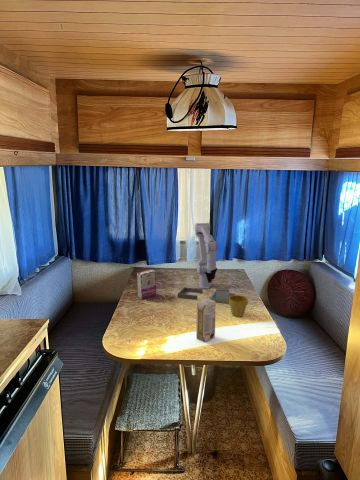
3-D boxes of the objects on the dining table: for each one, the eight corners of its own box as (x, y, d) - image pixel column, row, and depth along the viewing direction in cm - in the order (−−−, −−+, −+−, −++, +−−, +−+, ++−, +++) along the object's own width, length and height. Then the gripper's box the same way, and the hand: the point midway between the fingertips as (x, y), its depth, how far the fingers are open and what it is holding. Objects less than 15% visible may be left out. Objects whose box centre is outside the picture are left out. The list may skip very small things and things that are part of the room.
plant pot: (245, 319, 199) (246, 302, 197) (226, 317, 202) (227, 300, 200) (248, 312, 209) (249, 296, 207) (230, 310, 212) (230, 294, 210)
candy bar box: (151, 293, 239) (151, 269, 235) (156, 295, 235) (156, 270, 232) (137, 297, 232) (136, 272, 229) (141, 299, 228) (141, 274, 225)
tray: (214, 294, 237) (214, 291, 237) (235, 296, 233) (235, 293, 233) (209, 301, 225) (209, 298, 224) (231, 304, 221) (231, 301, 220)
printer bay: (184, 290, 244) (184, 287, 243) (202, 292, 240) (202, 289, 239) (177, 297, 232) (177, 293, 231) (197, 299, 228) (197, 296, 227)
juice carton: (217, 337, 179) (217, 300, 175) (206, 343, 172) (206, 305, 168) (204, 332, 184) (205, 296, 180) (193, 338, 177) (194, 301, 173)
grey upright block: (216, 296, 232) (216, 287, 230) (228, 297, 231) (229, 288, 229) (215, 299, 227) (216, 290, 226) (228, 299, 226) (229, 290, 225)
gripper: (208, 257, 240) (207, 276, 242) (202, 262, 226) (202, 283, 229) (218, 257, 237) (218, 277, 240) (213, 263, 224) (213, 284, 227)
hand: (211, 280), depth 234 cm, fingers open, 7 cm apart
